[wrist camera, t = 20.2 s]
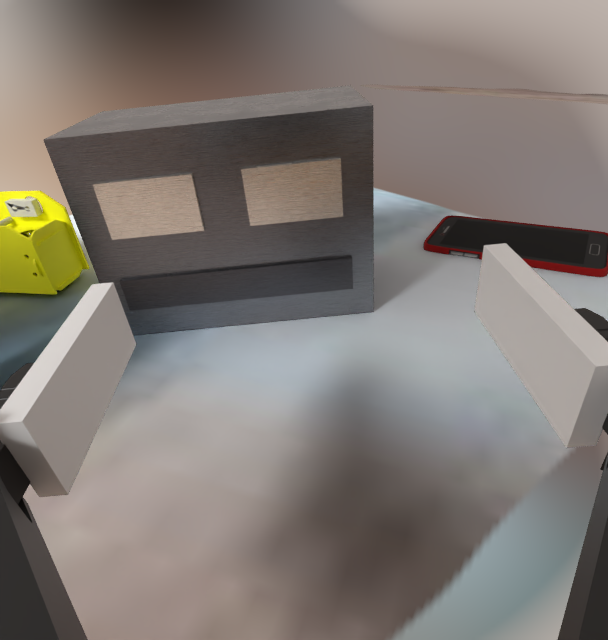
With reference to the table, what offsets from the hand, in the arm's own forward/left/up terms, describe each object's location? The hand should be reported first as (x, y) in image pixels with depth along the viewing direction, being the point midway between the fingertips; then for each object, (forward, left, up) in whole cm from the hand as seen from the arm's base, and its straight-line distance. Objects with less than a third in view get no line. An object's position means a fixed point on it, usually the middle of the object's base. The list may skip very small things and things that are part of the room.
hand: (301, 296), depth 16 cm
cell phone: (+19, +22, -11) cm, 31 cm away
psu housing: (-5, +19, -10) cm, 22 cm away
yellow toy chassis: (-29, +25, -10) cm, 39 cm away
